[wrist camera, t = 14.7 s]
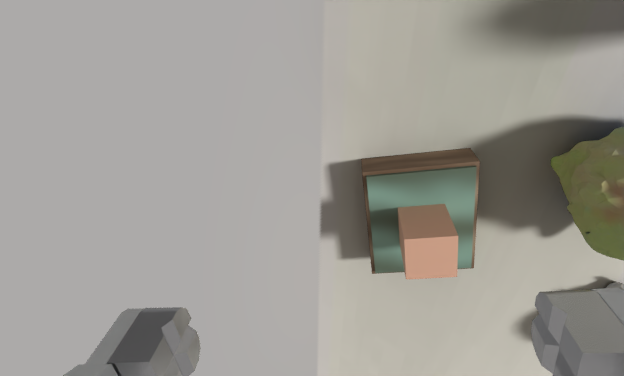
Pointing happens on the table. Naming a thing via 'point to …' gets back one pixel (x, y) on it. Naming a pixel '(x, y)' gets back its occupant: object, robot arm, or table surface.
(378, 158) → the green lidded wooden box
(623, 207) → the earth globe model
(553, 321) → the robot arm
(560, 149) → the table surface
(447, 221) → the terracotta block
